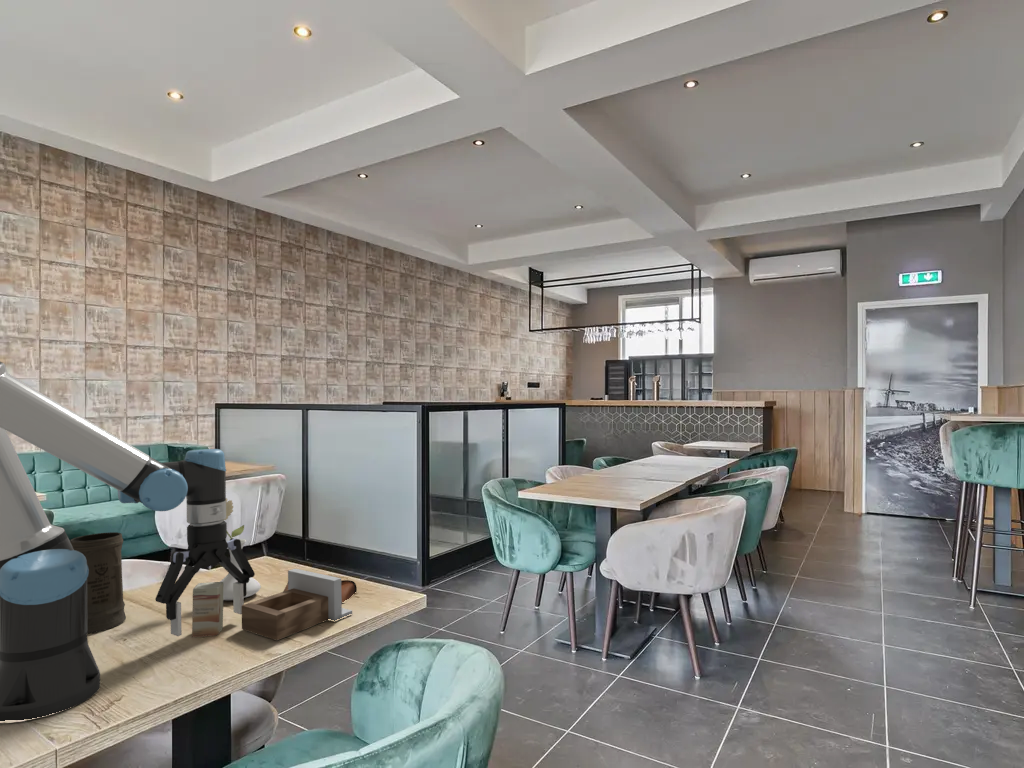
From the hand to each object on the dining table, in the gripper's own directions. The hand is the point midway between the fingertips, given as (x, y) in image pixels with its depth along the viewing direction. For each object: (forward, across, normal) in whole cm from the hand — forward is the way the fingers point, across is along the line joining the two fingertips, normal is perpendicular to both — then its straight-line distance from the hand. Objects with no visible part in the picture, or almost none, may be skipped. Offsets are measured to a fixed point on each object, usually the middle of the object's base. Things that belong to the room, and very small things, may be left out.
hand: (208, 623), depth 125 cm
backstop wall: (+2, +20, -11) cm, 23 cm away
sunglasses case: (+3, +26, -2) cm, 26 cm away
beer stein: (+2, -10, +29) cm, 31 cm away
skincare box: (+2, 0, 0) cm, 2 cm away
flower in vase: (+2, +16, +17) cm, 23 cm away
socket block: (+2, +11, -11) cm, 16 cm away
